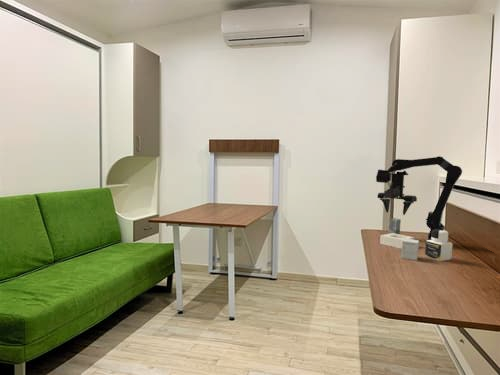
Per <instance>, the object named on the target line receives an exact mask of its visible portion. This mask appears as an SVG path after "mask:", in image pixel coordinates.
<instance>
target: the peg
mask: <svg viewBox="0 0 500 375" xmlns="http://www.w3.org/2000/svg"><path fill="white" fill-rule="evenodd" d="M388 220H389V222H388V233H387V234H391V233H395V234H400V235H401V218H395V217H392V218H389V219H388Z"/></svg>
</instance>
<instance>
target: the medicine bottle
mask: <svg viewBox="0 0 500 375" xmlns="http://www.w3.org/2000/svg"><path fill="white" fill-rule="evenodd" d="M431 239H432V240H428V239H427V240H425V250H424V257H425V258H429V259H432V260H434V261H438V262H442V261H450V260H452V255H453V254H452V253H453V252H452V251H453V243H452V242H450V241H449V232H448V231H447V230H441V229H434V230H432V235H431Z"/></svg>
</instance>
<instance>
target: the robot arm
mask: <svg viewBox="0 0 500 375" xmlns="http://www.w3.org/2000/svg"><path fill="white" fill-rule="evenodd" d="M425 166H426V167H427V166H439V167H440V168H441V169H443V170H444V171H445V172H446V177H445V183H444V186H443V187H442V190H441V193H440V196H439V198H438V199H437V203H436V205H435V208H434V210H433V211H430V210H429V211H428V214H427V215H428V216H427V217H426V219H425V221H426V222H425V223H426V226H427V228H428V229H429V232H428V236H427V240H432V239H431V235H432V230H434V229H441V230H445V229H446V226H445V225H444V224H443V223H442V219H443V213H444V210H445V208H446V205H447V203H448V200H449V198H450V196H451V193H452V191H453V188H454V186H455V184H456V183H457V182H458V181H459V179H460V178H461V176H462V175H463V169H462V168H461V166H458V165H454V164H452V163H451V162H449V161H448V160H447V159H445V158H444V157H443V156H440V155H439V156H434V157H427V158H426V157H425V158H418V159H417V158H416V159H401V158H397V159H394V160H393V161H392V163H391V166H390V167H389V168H388V169H387V170H386V169H377V172H376V175H375V180H376V183H382V184H383V183H384V184H388V183H389V182H391V184H390V185H389V188H388V189H386V190H385V191H384V192H378V193H377V199H379V200H380V201H382V203H383V205H384V209H385V212H386V213H389V209H390V203H391V202H390V201H391V200H392V199H395V200H396V199H397V200H404V201H402V204H403V207H402V208H403V209H402V215H403V216H405V215H406V214H407V211H408V210H409V208H410V206H411V205H412V204H414V203H415V202H417V199H418V198H417V196H416V195H410V194H408V195H407V194H406V195H405V193H404V189H405V188H406V187H405V185H404V184H405V176H409V173H408V172H407V169H411V168H415V167H425Z"/></svg>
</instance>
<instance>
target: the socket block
mask: <svg viewBox="0 0 500 375" xmlns="http://www.w3.org/2000/svg"><path fill="white" fill-rule="evenodd" d="M404 238H405V239H413V240H415V237H414V236H408V235H404V234H401V233H400V234H395V233H391V234H388V233H387V234H380V242H379V244H380V245H385V246H389V247H392V248H397V249H401V250H402V242H403V239H404Z"/></svg>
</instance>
